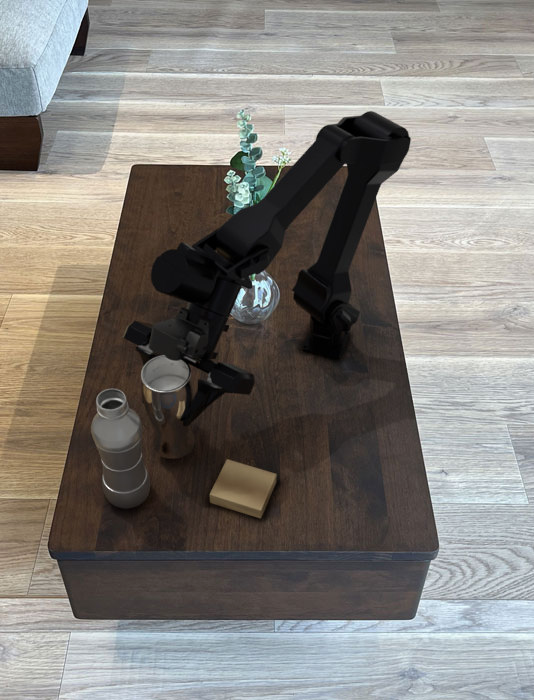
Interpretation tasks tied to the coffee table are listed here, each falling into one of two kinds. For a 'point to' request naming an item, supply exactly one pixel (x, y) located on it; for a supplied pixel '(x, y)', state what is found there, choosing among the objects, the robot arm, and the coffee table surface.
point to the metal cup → (168, 404)
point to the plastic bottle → (120, 450)
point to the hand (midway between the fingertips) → (164, 414)
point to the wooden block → (243, 488)
